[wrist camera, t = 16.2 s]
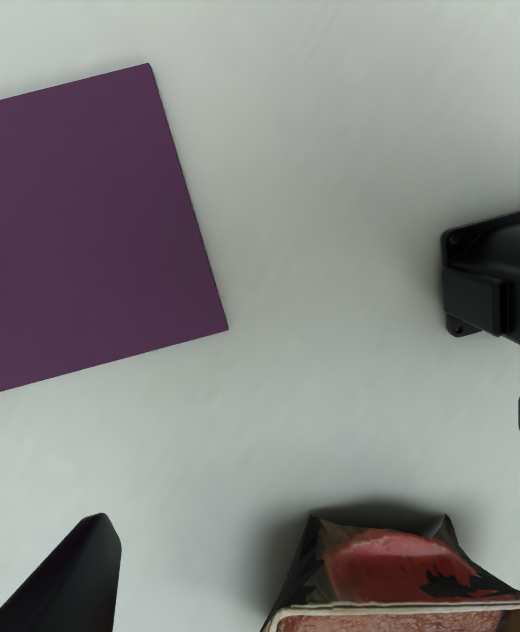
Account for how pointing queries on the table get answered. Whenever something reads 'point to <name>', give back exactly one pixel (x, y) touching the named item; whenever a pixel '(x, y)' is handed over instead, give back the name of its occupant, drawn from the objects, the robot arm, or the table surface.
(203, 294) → the mat
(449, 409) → the table surface
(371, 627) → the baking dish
